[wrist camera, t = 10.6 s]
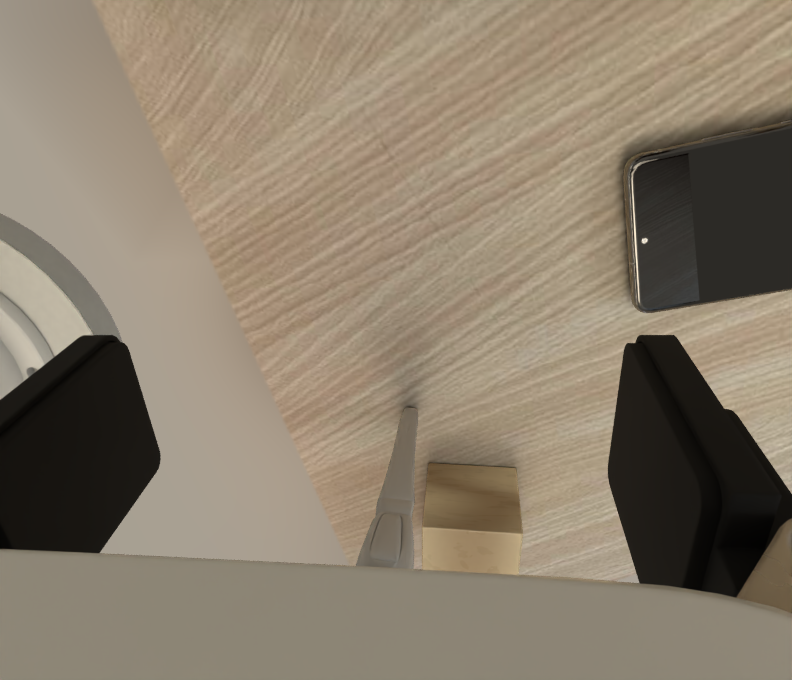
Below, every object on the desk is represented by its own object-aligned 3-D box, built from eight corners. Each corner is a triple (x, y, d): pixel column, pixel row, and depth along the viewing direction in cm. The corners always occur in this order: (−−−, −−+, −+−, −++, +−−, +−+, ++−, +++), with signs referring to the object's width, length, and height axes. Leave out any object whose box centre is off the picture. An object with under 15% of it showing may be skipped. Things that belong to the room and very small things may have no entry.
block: (427, 526, 36) (421, 594, 32) (428, 462, 34) (421, 526, 30) (510, 531, 36) (515, 602, 31) (516, 467, 33) (523, 534, 29)
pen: (385, 428, 33) (334, 665, 21) (388, 388, 32) (336, 616, 20) (430, 434, 33) (404, 676, 21) (435, 394, 32) (411, 627, 19)
